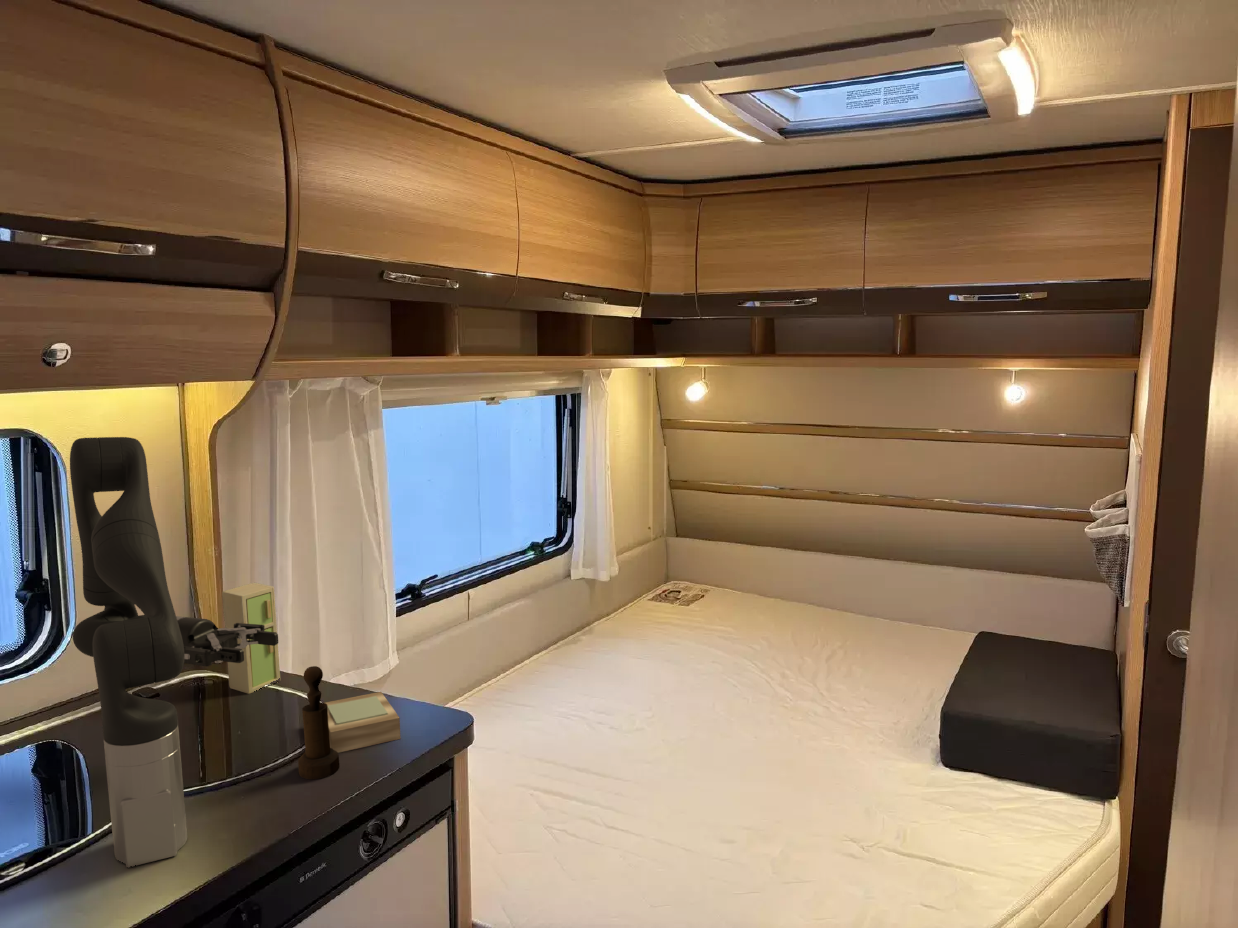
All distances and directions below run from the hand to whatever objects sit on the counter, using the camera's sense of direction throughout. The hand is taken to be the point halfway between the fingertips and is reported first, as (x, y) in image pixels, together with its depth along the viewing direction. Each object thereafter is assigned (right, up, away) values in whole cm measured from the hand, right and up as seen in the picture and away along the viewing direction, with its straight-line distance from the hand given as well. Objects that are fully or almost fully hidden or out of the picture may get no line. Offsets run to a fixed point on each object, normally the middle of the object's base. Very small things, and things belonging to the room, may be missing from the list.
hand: (260, 647), depth 148 cm
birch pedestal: (+12, -19, +14) cm, 26 cm away
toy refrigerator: (-16, -16, +38) cm, 44 cm away
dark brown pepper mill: (+10, -21, 0) cm, 23 cm away
